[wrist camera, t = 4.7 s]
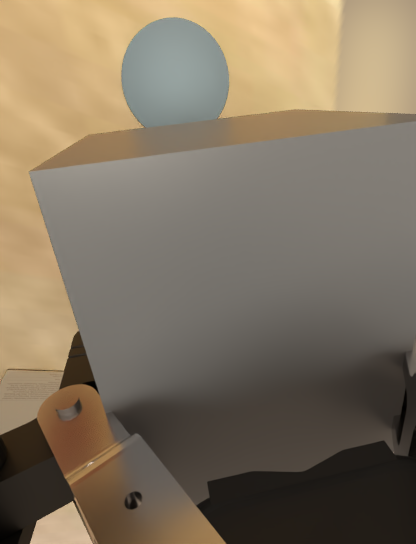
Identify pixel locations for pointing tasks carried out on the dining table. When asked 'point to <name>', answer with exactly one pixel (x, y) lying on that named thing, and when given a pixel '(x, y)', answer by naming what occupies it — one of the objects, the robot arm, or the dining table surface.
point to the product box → (25, 395)
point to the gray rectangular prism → (242, 283)
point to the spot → (174, 74)
